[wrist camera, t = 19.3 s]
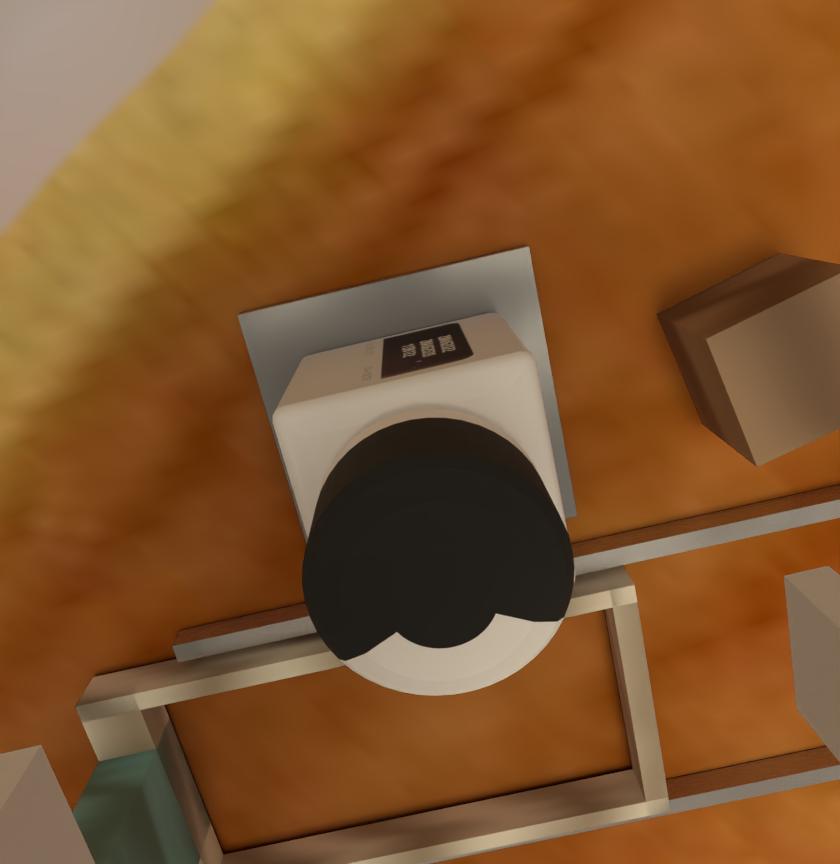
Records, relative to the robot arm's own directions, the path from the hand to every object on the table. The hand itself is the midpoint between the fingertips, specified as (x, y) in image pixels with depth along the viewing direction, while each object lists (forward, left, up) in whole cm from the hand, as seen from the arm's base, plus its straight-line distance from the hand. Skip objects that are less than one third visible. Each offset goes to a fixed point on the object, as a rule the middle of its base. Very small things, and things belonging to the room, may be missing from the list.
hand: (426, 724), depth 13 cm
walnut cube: (+13, 0, -18) cm, 23 cm away
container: (0, 0, -18) cm, 18 cm away
